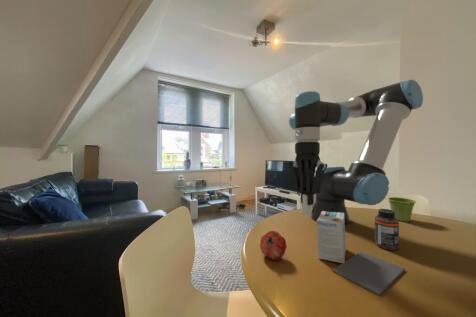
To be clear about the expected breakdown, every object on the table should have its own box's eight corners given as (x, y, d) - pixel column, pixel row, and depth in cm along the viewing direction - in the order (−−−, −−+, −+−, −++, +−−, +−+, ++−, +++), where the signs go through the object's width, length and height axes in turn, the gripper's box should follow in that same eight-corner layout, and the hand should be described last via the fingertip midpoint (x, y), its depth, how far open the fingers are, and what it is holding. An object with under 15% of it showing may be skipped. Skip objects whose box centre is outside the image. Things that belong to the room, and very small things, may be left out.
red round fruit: (264, 256, 60) (249, 246, 53) (274, 233, 62) (260, 222, 56) (285, 268, 54) (271, 259, 48) (295, 243, 57) (283, 231, 51)
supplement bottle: (376, 240, 65) (376, 206, 64) (399, 246, 60) (400, 210, 60) (372, 246, 60) (372, 210, 60) (397, 253, 56) (397, 214, 56)
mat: (332, 271, 48) (332, 269, 48) (360, 253, 56) (360, 251, 56) (379, 295, 40) (379, 293, 40) (404, 270, 48) (404, 268, 48)
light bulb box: (322, 243, 62) (320, 210, 63) (346, 247, 59) (344, 212, 59) (317, 258, 53) (315, 219, 53) (345, 264, 50) (343, 222, 50)
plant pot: (422, 223, 79) (422, 202, 79) (398, 223, 80) (399, 202, 79) (402, 215, 89) (403, 197, 89) (382, 216, 89) (382, 197, 89)
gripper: (283, 142, 66) (284, 211, 66) (318, 140, 55) (318, 222, 55) (298, 143, 70) (298, 207, 70) (333, 140, 59) (332, 217, 60)
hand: (307, 214), depth 63 cm, fingers closed
